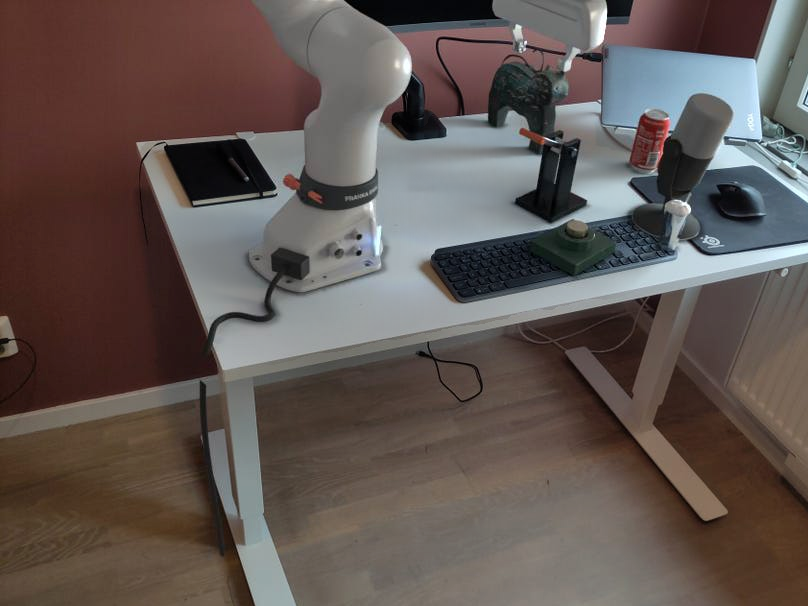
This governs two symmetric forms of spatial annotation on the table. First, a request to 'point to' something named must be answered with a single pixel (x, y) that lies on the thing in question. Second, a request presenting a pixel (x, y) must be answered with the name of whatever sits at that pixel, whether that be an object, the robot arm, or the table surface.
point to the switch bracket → (556, 197)
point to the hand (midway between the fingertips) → (540, 60)
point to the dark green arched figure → (527, 96)
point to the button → (576, 229)
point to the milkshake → (673, 223)
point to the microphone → (686, 159)
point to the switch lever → (543, 140)
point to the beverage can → (649, 140)
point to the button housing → (572, 249)
